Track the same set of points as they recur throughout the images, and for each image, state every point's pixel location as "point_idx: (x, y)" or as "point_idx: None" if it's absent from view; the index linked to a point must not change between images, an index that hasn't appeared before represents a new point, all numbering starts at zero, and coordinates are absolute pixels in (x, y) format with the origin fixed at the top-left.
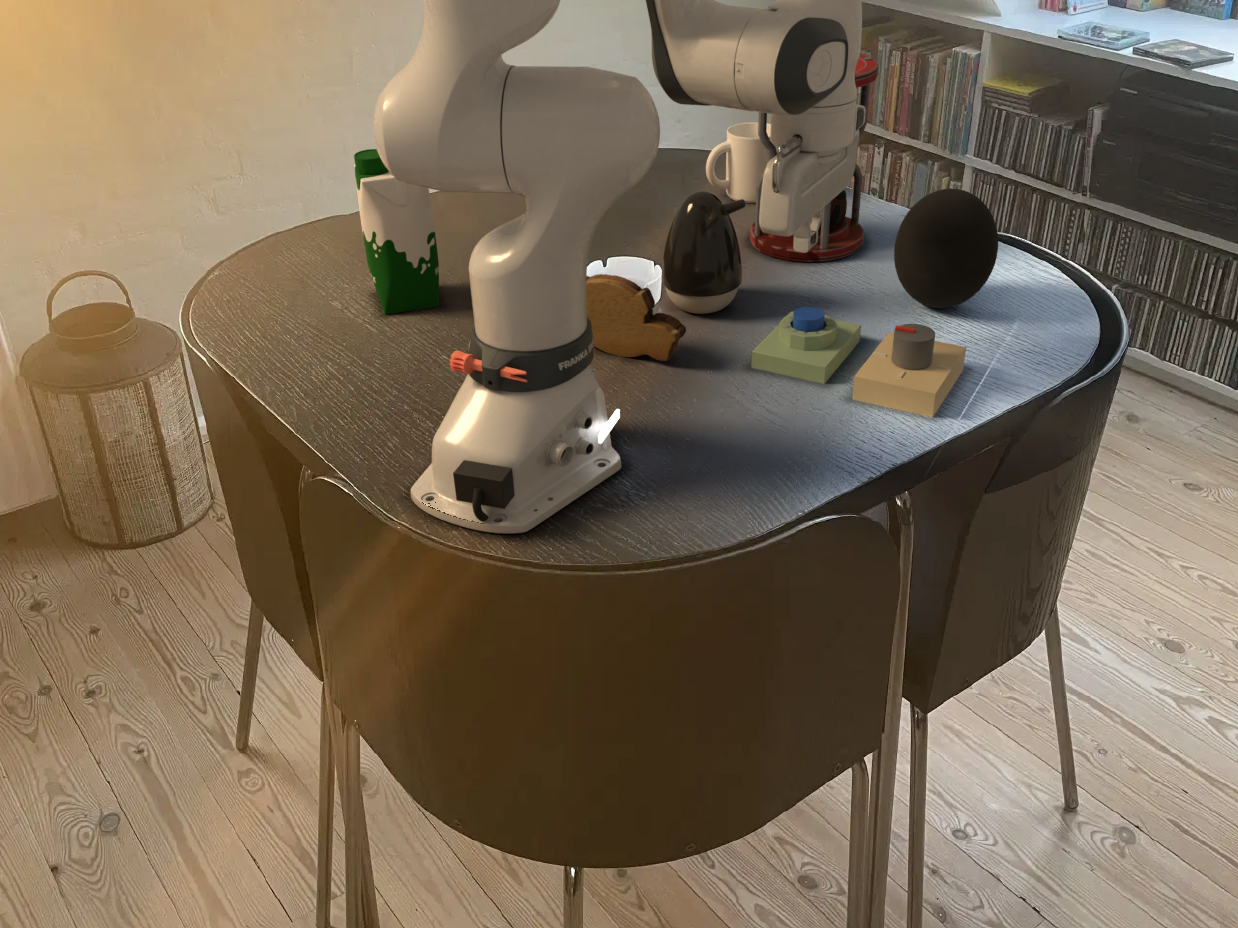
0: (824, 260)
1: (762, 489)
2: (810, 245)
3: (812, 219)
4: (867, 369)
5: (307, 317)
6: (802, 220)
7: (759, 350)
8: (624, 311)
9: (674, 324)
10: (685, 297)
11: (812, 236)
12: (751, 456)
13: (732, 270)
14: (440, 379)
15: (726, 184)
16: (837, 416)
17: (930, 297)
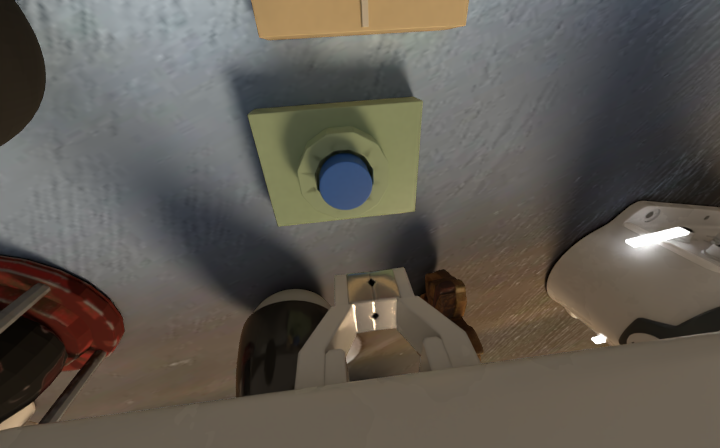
0: (61, 271)
1: (696, 44)
2: (391, 276)
3: (337, 347)
4: (433, 10)
5: None
6: (681, 372)
7: (408, 205)
8: None
9: (451, 298)
10: None
11: (383, 296)
12: (615, 97)
13: (293, 324)
14: (504, 355)
15: None
16: (500, 30)
17: (20, 11)
